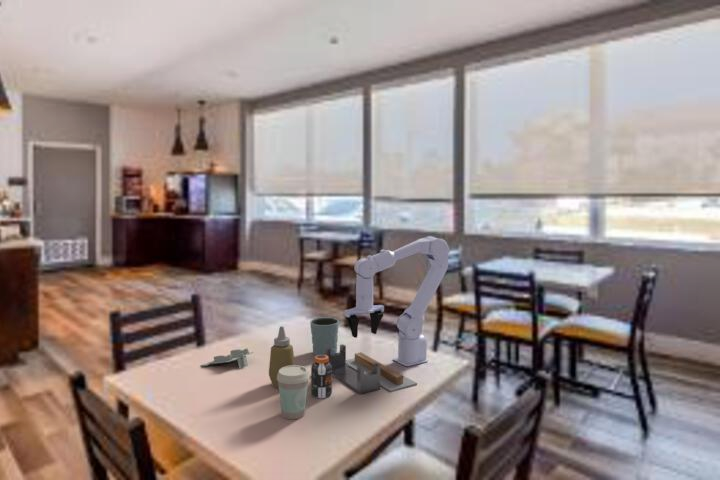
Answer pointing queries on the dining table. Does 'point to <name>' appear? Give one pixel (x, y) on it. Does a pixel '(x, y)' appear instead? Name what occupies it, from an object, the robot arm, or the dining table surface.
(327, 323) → the teal tumbler
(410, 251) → the robot arm
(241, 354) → the metal bracket
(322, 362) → the pill bottle
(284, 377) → the coffee cup
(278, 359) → the squeeze bottle
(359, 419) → the dining table surface
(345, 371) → the dark grey cradle
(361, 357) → the walnut bar
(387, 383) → the grey mat
